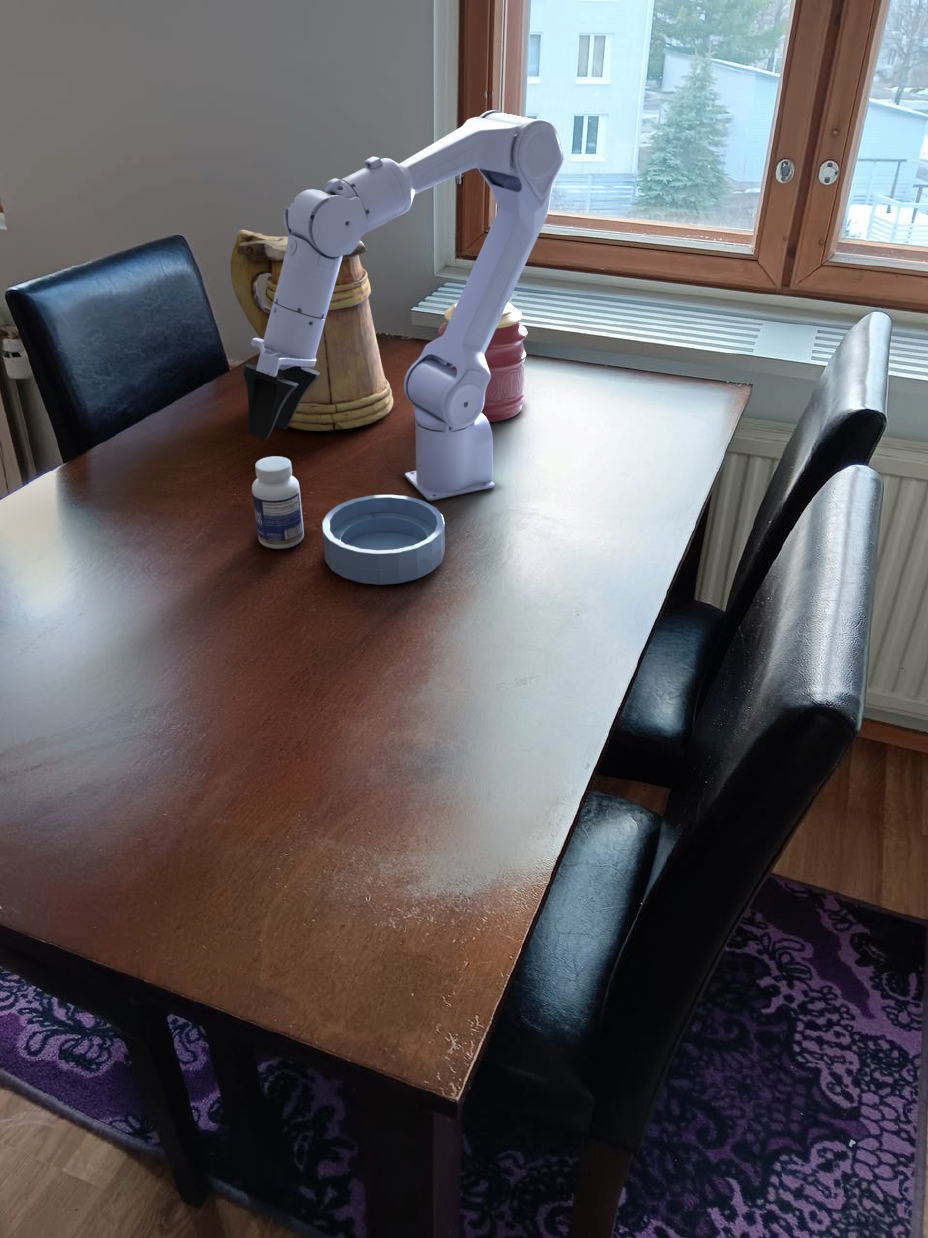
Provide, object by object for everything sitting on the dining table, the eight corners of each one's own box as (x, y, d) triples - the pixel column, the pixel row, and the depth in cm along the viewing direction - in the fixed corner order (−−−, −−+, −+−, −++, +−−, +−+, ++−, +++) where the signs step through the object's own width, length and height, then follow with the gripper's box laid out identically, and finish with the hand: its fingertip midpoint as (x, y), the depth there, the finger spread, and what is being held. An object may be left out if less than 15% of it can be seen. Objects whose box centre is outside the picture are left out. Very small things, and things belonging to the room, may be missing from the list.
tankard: (369, 441, 137) (360, 258, 123) (218, 422, 142) (192, 245, 128) (408, 394, 152) (403, 226, 138) (269, 379, 157) (251, 216, 142)
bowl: (415, 519, 119) (414, 485, 116) (464, 572, 109) (464, 537, 106) (309, 542, 114) (306, 508, 111) (349, 600, 104) (347, 564, 101)
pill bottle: (260, 528, 116) (251, 453, 111) (305, 526, 117) (298, 452, 111) (256, 551, 112) (246, 474, 106) (303, 549, 112) (295, 473, 107)
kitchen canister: (471, 385, 155) (472, 272, 145) (540, 403, 149) (546, 287, 139) (421, 410, 147) (419, 292, 137) (492, 431, 140) (495, 309, 130)
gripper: (282, 296, 110) (253, 410, 115) (242, 298, 96) (211, 428, 101) (341, 317, 110) (309, 430, 115) (309, 322, 96) (275, 451, 101)
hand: (267, 431), depth 108 cm, fingers open, 7 cm apart
